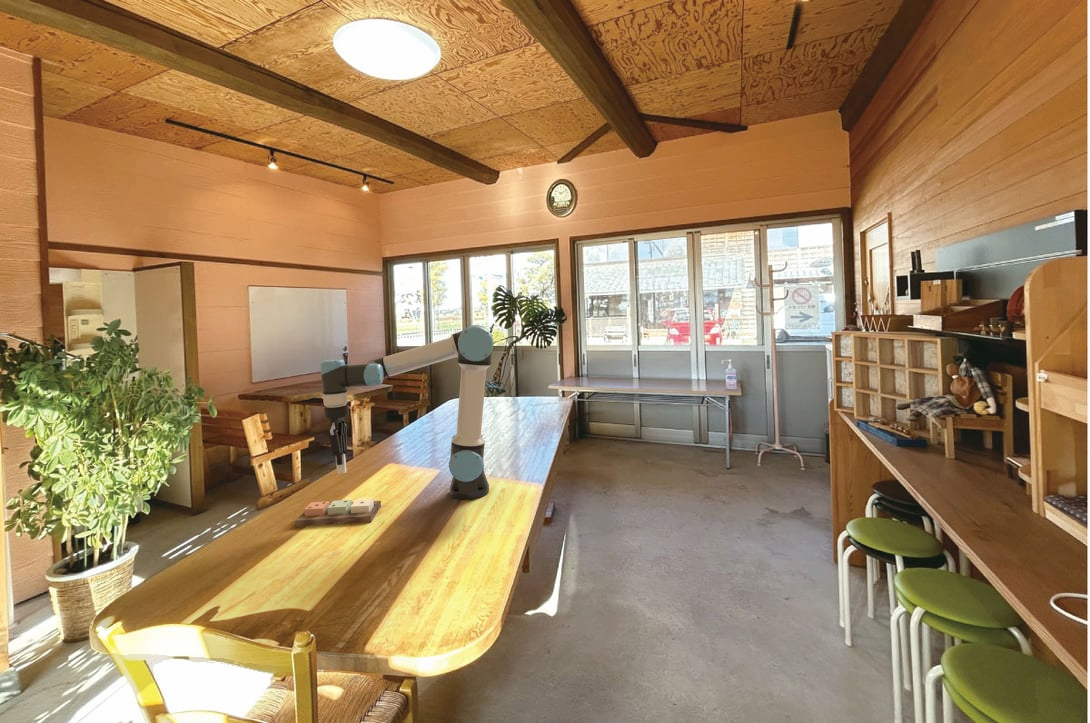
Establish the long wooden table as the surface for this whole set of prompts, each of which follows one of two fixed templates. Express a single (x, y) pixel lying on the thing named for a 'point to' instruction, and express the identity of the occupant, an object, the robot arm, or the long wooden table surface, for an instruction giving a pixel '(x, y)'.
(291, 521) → the long wooden table surface
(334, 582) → the long wooden table surface
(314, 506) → the button three terracotta
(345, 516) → the brown wooden tray
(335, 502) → the button two sage
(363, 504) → the button one cream
